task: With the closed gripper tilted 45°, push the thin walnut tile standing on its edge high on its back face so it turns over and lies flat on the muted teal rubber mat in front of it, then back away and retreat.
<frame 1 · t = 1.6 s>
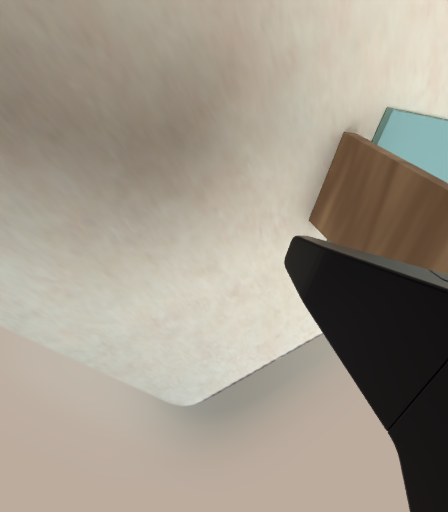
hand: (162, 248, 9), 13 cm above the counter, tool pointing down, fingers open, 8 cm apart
walnut tile: (331, 180, 26), on the counter
mat: (414, 187, 30), on the counter
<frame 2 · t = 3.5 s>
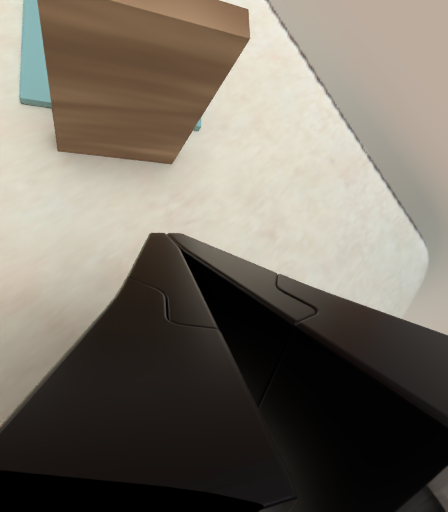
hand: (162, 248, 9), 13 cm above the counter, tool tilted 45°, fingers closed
walnut tile: (118, 149, 23), on the counter
mat: (117, 28, 24), on the counter
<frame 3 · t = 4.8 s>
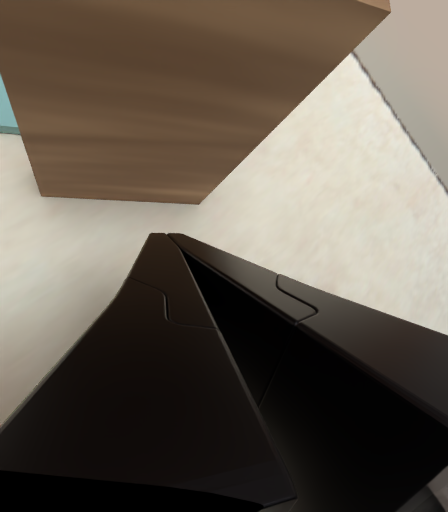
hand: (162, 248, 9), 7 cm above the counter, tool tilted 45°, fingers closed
walnut tile: (126, 188, 16), on the counter
mat: (121, 23, 18), on the counter
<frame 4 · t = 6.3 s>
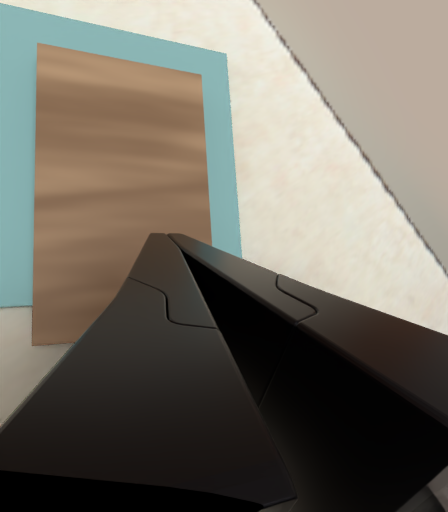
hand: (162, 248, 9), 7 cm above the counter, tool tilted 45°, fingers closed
walnut tile: (131, 336, 14), point 1 cm above the counter, tilted 90°, touching mat
mat: (122, 162, 17), on the counter
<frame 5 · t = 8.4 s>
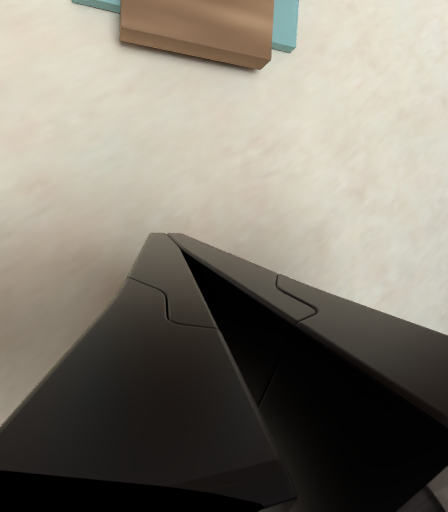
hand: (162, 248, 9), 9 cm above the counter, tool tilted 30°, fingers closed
walnut tile: (197, 50, 17), point 1 cm above the counter, tilted 90°, touching mat
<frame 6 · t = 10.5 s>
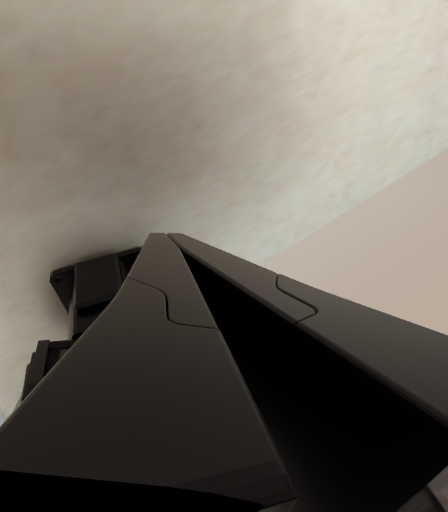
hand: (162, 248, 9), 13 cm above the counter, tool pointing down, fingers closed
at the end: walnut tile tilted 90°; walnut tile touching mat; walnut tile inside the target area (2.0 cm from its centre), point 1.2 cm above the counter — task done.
